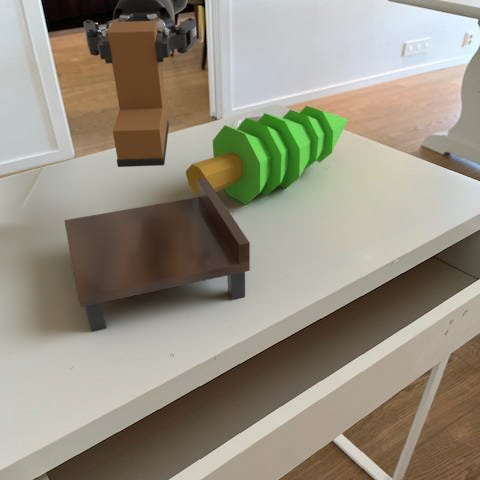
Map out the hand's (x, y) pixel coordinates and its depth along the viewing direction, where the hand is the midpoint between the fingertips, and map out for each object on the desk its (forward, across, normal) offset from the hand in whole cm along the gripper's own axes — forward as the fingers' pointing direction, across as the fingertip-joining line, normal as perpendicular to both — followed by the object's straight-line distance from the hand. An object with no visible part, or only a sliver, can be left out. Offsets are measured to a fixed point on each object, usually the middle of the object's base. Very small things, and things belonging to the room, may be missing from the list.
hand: (133, 52), depth 55 cm
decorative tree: (-11, +18, +22) cm, 31 cm away
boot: (+1, 0, +10) cm, 10 cm away
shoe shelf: (+11, +1, +22) cm, 24 cm away
